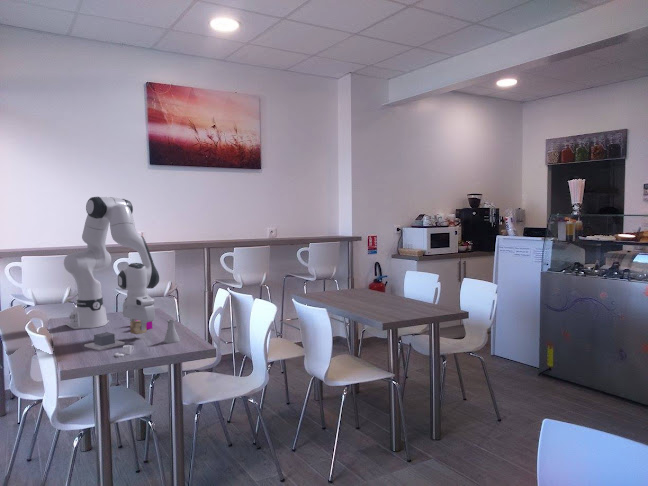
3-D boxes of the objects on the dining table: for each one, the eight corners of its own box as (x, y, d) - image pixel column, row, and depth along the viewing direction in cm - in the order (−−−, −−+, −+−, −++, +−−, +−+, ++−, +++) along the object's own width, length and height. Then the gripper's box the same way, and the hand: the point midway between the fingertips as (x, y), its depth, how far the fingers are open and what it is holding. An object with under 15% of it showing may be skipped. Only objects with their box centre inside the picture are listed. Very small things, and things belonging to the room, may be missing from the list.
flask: (164, 345, 224) (164, 322, 223) (161, 341, 231) (160, 319, 230) (181, 343, 227) (181, 320, 227) (178, 339, 234) (177, 317, 233)
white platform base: (84, 346, 224) (83, 335, 224) (110, 340, 234) (109, 329, 233) (99, 351, 217) (98, 339, 216) (125, 344, 226) (124, 333, 226)
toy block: (152, 329, 256) (151, 314, 256) (139, 330, 253) (138, 315, 253) (147, 323, 270) (146, 309, 269) (134, 324, 267) (134, 310, 266)
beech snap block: (130, 332, 236) (130, 322, 236) (140, 330, 240) (140, 320, 240) (136, 334, 233) (136, 323, 233) (146, 332, 237) (146, 321, 237)
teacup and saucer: (115, 360, 204) (114, 349, 204) (114, 354, 212) (114, 345, 211) (138, 357, 208) (138, 347, 207) (137, 352, 215) (137, 342, 215)
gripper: (118, 297, 239) (119, 327, 240) (144, 302, 227) (145, 333, 228) (130, 295, 244) (131, 324, 245) (156, 300, 232) (157, 330, 233)
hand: (138, 329), depth 236 cm, fingers closed on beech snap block, 5 cm apart
